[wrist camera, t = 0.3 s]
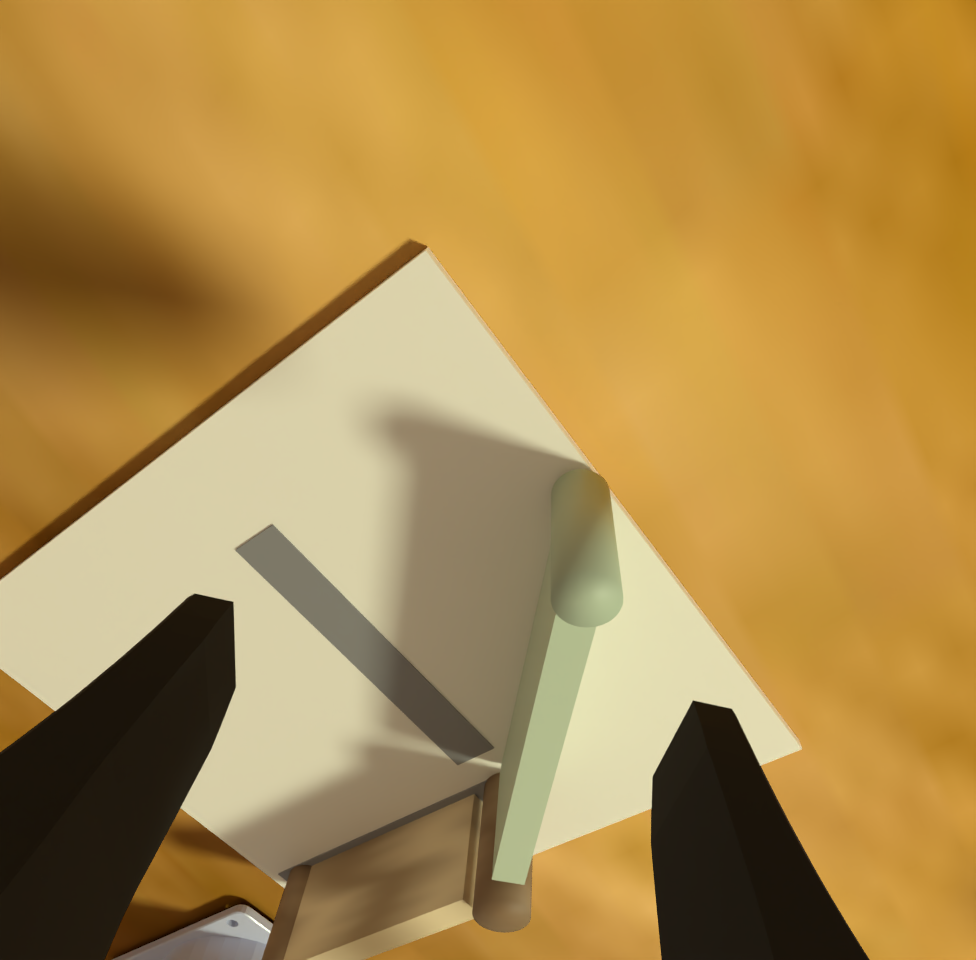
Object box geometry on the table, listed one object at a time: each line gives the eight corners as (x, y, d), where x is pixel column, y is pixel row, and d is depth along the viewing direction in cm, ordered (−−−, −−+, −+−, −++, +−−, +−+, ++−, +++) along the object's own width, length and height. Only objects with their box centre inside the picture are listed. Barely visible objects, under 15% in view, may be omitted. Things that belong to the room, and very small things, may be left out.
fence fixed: (310, 893, 31) (274, 1016, 27) (280, 870, 31) (238, 992, 27) (544, 794, 27) (542, 921, 23) (514, 764, 27) (508, 890, 23)
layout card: (342, 922, 33) (339, 932, 32) (-49, 617, 26) (-58, 625, 25) (798, 739, 25) (802, 750, 25) (428, 246, 18) (425, 250, 18)
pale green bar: (536, 777, 26) (533, 905, 22) (491, 769, 26) (480, 896, 22) (615, 474, 20) (631, 576, 16) (557, 465, 20) (557, 564, 16)
